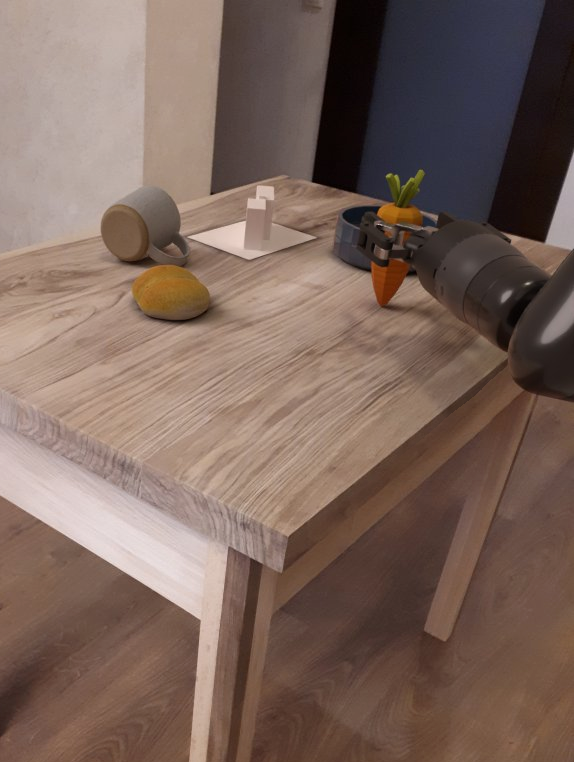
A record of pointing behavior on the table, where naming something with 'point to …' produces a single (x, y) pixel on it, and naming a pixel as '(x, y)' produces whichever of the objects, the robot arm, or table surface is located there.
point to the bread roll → (170, 293)
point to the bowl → (349, 234)
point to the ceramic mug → (144, 227)
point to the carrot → (393, 213)
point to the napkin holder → (254, 230)
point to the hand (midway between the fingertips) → (403, 220)
